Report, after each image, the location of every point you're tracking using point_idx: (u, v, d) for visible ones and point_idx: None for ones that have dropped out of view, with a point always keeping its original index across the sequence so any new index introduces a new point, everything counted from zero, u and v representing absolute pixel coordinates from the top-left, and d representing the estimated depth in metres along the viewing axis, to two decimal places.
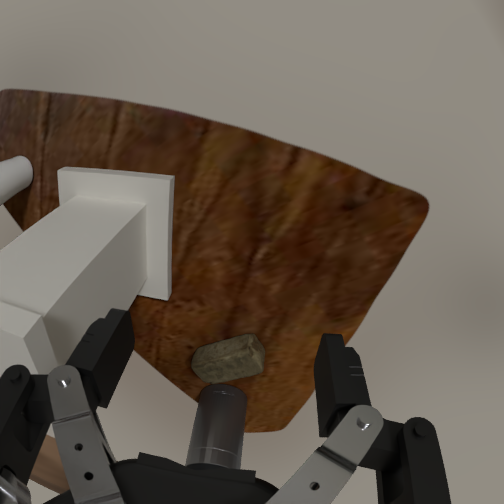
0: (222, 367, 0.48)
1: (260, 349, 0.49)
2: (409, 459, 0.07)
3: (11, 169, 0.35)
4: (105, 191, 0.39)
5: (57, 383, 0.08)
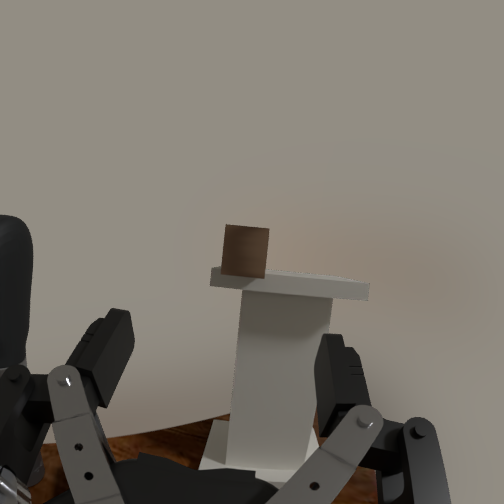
0: None
1: None
2: (409, 459, 0.07)
3: None
4: None
5: (57, 383, 0.08)
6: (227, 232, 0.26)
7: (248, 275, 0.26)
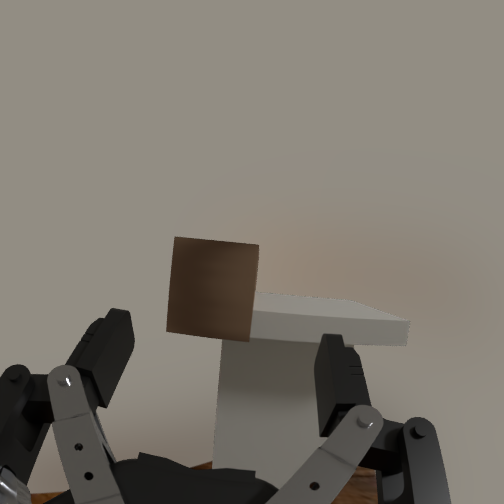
0: None
1: None
2: (409, 459, 0.07)
3: None
4: None
5: (57, 383, 0.08)
6: (177, 252, 0.13)
7: (218, 335, 0.13)
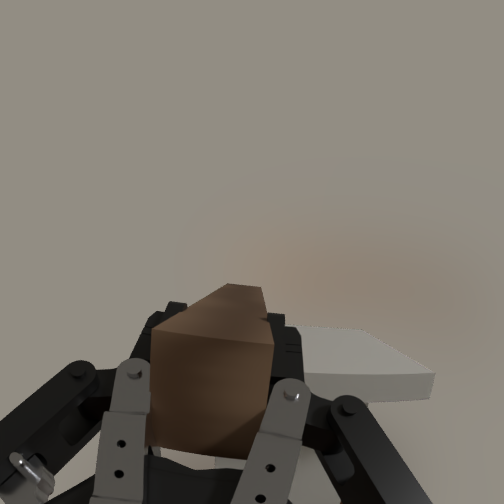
0: None
1: None
2: (348, 440, 0.08)
3: None
4: None
5: (129, 377, 0.09)
6: (157, 350, 0.09)
7: (218, 452, 0.09)
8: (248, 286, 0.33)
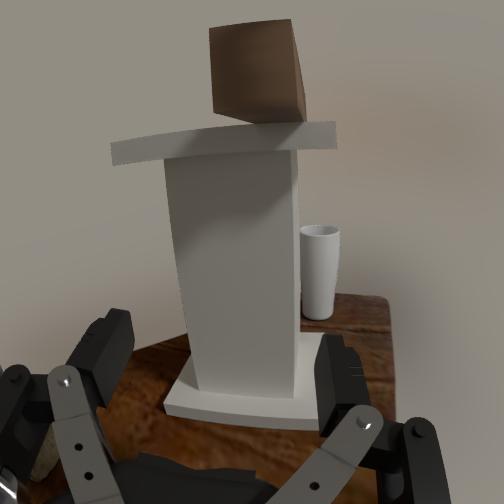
0: None
1: None
2: (409, 459, 0.07)
3: (329, 293, 0.51)
4: (305, 367, 0.39)
5: (57, 383, 0.08)
6: (214, 40, 0.12)
7: (266, 104, 0.12)
8: None
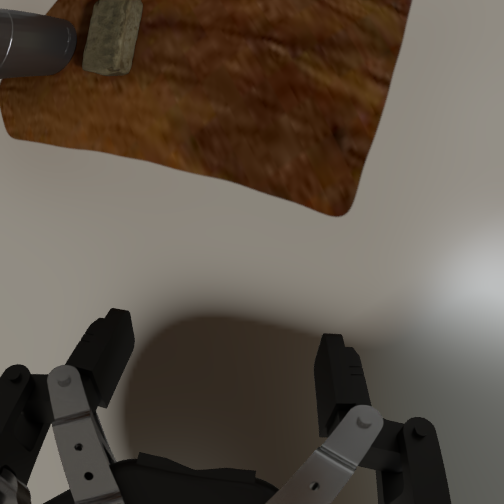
0: (110, 30, 0.29)
1: (107, 75, 0.34)
2: (409, 459, 0.07)
3: None
4: None
5: (57, 383, 0.08)
6: None
7: None
8: None
